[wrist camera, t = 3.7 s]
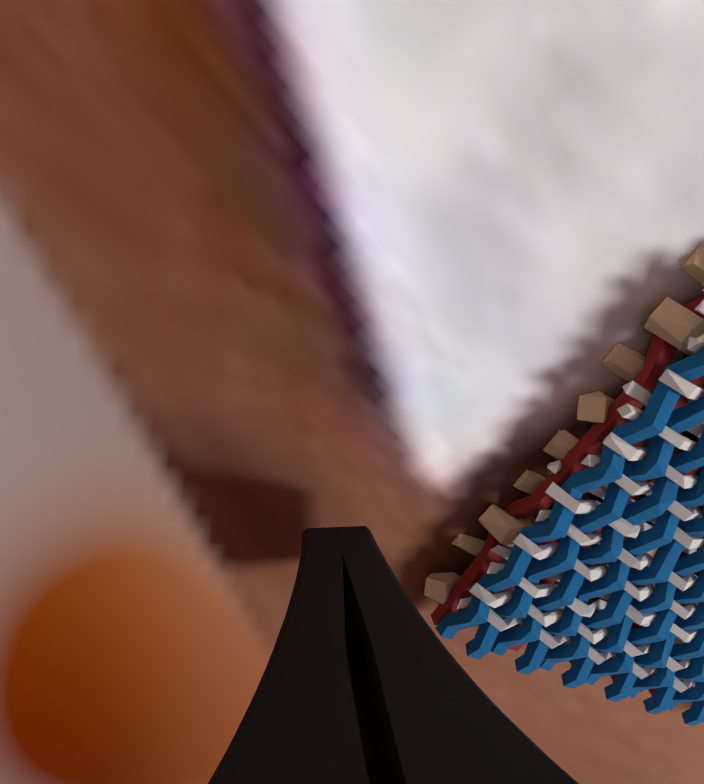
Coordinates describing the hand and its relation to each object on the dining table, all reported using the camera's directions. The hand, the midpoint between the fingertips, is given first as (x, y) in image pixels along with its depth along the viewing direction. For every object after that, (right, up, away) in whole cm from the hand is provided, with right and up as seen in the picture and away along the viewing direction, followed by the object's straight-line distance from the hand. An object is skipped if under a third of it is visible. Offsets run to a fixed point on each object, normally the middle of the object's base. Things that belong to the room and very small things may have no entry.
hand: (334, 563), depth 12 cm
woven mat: (+9, +1, +3) cm, 9 cm away
